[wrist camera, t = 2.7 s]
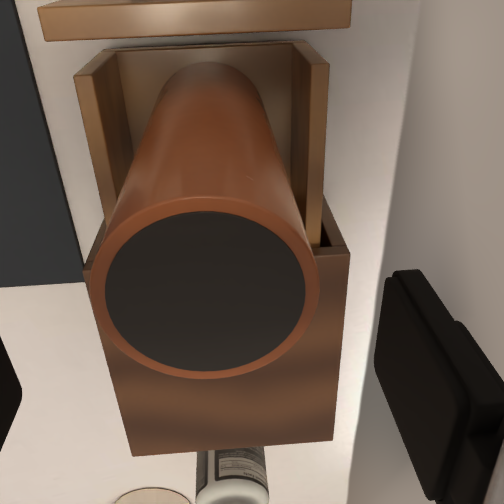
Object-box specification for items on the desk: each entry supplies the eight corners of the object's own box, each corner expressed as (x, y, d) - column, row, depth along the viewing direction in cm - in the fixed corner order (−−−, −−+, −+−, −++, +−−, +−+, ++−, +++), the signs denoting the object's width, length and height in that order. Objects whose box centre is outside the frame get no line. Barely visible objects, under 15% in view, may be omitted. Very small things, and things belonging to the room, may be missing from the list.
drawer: (57, -117, 21) (-1, -143, 15) (323, -125, 22) (363, -153, 16) (126, 232, 31) (106, 296, 25) (310, 220, 31) (332, 281, 25)
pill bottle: (228, 454, 45) (231, 569, 37) (184, 427, 42) (177, 544, 34) (274, 426, 43) (288, 540, 35) (231, 396, 41) (235, 511, 32)
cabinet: (113, 194, 30) (81, 270, 23) (318, 182, 31) (351, 253, 23) (147, 360, 38) (131, 457, 31) (310, 348, 38) (333, 441, 31)
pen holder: (203, 35, 24) (190, 143, 10) (287, 115, 26) (367, 290, 13) (132, 123, 26) (41, 312, 12) (216, 190, 28) (218, 409, 15)
